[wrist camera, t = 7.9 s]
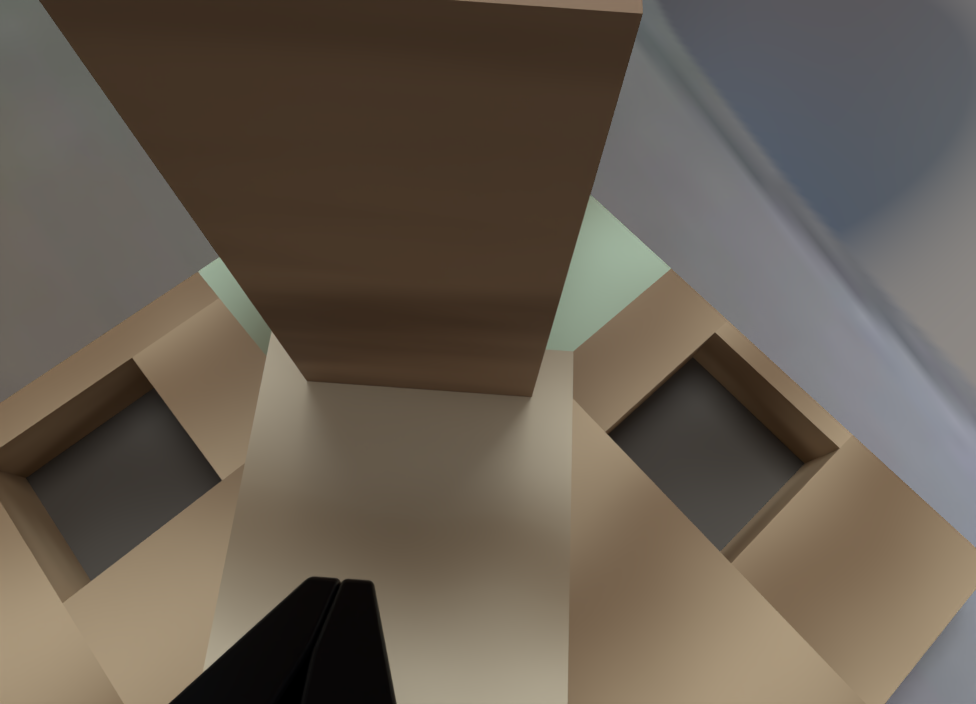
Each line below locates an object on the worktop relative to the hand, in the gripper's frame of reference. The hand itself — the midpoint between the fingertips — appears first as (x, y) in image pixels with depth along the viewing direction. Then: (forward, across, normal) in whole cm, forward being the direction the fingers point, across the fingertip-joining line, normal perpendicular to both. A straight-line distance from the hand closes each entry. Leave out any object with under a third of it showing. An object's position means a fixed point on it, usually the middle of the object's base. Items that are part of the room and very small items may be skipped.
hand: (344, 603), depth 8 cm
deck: (+7, -1, +4) cm, 8 cm away
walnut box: (+10, 0, -2) cm, 10 cm away
